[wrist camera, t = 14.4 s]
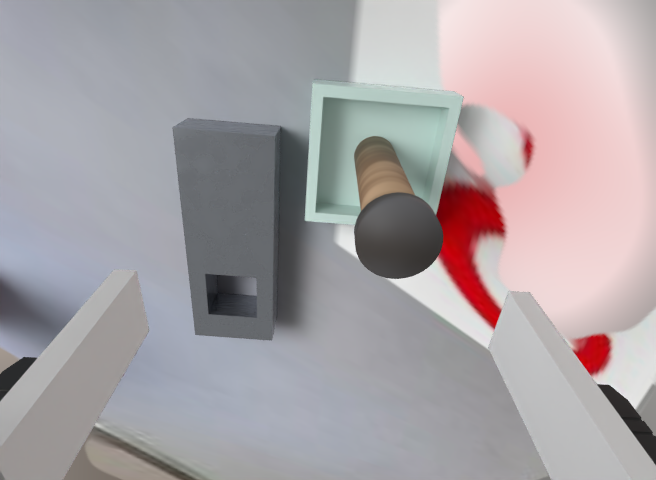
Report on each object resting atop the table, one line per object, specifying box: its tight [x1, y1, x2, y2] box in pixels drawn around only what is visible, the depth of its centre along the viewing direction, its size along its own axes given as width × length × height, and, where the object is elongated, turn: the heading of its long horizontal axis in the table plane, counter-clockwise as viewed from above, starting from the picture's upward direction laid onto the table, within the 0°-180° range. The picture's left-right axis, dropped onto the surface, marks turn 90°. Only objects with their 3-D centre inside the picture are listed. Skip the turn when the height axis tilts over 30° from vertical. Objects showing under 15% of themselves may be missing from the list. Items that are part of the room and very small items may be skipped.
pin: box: [354, 136, 443, 279], centre depth 31 cm, size 5×5×18 cm
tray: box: [305, 79, 464, 225], centre depth 38 cm, size 13×13×3 cm
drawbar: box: [173, 118, 281, 340], centre depth 42 cm, size 24×9×4 cm, turn 175°
